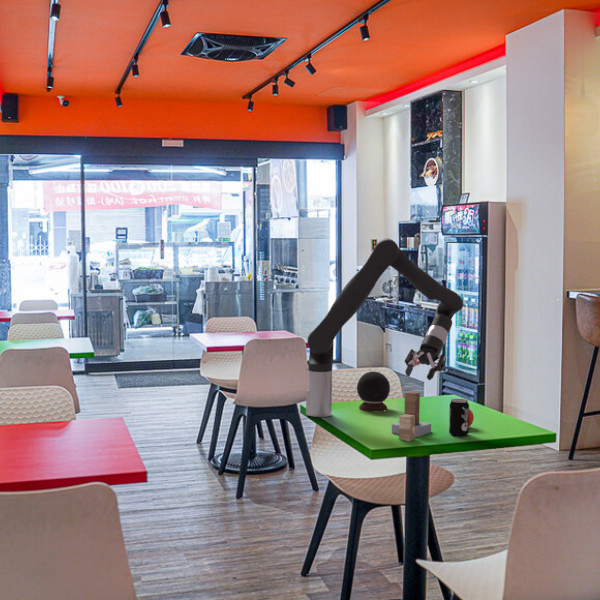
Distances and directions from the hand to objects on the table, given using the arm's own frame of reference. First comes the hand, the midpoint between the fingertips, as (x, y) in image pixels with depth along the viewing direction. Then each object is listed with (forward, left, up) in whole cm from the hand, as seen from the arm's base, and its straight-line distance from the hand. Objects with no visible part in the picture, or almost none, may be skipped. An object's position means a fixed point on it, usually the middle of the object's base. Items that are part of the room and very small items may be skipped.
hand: (417, 376), depth 281 cm
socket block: (-1, -7, -18) cm, 20 cm away
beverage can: (+15, -5, -19) cm, 25 cm away
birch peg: (-1, -18, -18) cm, 26 cm away
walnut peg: (-1, -7, -18) cm, 20 cm away
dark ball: (-22, +30, -19) cm, 41 cm away
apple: (+15, +7, -19) cm, 25 cm away
